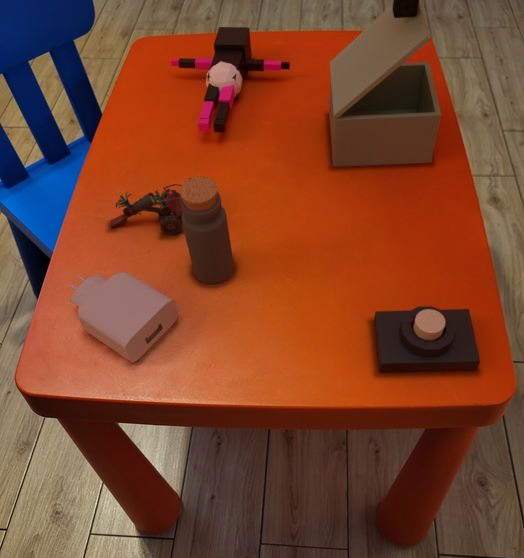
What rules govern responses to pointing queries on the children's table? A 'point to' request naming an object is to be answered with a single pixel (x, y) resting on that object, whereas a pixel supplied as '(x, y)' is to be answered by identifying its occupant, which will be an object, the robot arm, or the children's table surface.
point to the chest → (389, 121)
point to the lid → (375, 56)
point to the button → (429, 324)
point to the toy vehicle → (154, 209)
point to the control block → (425, 343)
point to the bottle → (206, 230)
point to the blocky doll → (226, 73)
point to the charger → (123, 312)
